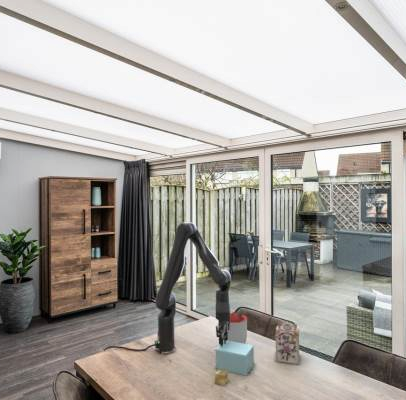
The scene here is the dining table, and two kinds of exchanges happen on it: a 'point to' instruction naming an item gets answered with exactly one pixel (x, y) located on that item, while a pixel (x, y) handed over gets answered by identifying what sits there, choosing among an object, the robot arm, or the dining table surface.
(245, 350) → the freezer lid
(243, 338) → the citrus juicer
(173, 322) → the robot arm
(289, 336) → the decorative jar
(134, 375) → the dining table surface
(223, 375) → the block
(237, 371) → the box
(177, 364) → the dining table surface
